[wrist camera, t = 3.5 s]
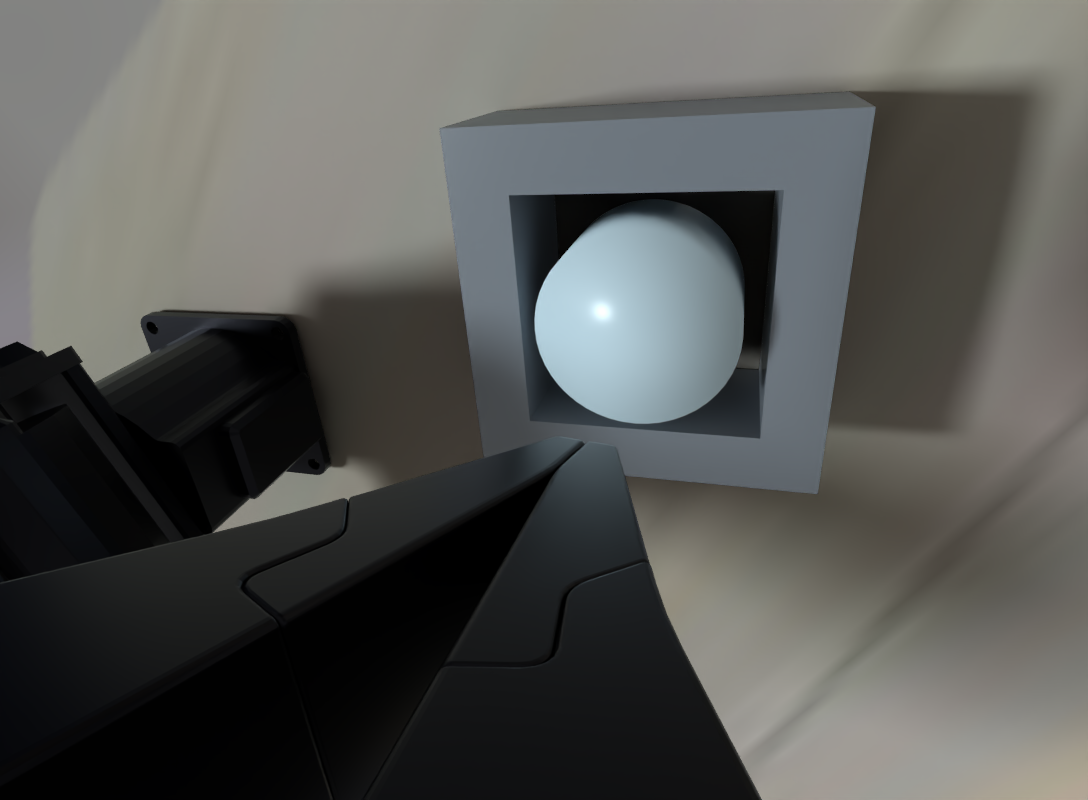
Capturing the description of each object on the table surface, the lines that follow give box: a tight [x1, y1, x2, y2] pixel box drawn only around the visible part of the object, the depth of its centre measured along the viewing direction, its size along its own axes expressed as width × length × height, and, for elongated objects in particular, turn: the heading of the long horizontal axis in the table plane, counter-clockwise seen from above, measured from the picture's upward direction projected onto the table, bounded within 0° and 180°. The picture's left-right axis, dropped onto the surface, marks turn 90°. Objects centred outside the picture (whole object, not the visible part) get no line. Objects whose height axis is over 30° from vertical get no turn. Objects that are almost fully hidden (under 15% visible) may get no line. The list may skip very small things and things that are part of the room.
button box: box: [440, 91, 876, 494], centre depth 18 cm, size 9×9×4 cm
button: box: [535, 199, 745, 424], centre depth 16 cm, size 5×5×3 cm
